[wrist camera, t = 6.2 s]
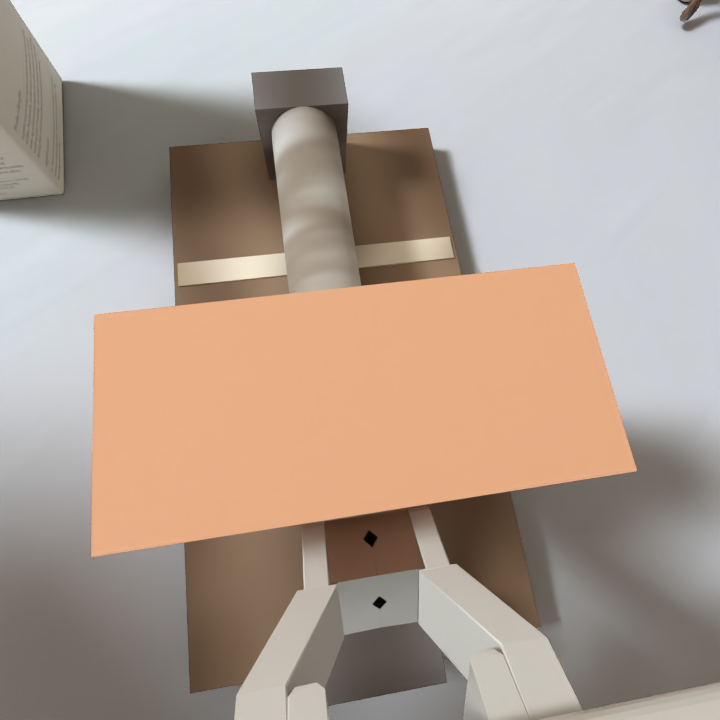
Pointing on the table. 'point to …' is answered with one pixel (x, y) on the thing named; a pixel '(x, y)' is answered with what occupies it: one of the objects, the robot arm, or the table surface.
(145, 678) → the table surface
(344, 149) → the pipe stand
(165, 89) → the table surface
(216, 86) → the table surface
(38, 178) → the skincare box
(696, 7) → the lion figurine
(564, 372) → the notched orange block
